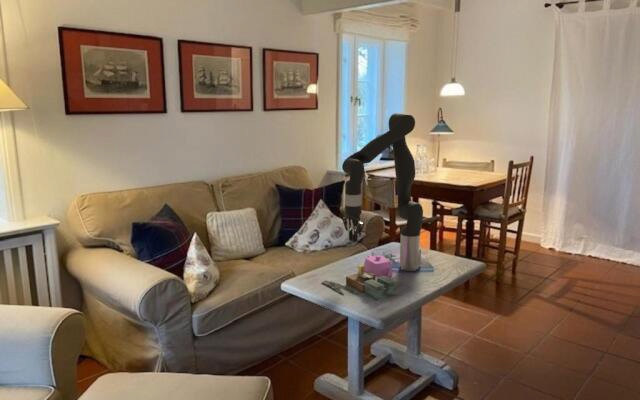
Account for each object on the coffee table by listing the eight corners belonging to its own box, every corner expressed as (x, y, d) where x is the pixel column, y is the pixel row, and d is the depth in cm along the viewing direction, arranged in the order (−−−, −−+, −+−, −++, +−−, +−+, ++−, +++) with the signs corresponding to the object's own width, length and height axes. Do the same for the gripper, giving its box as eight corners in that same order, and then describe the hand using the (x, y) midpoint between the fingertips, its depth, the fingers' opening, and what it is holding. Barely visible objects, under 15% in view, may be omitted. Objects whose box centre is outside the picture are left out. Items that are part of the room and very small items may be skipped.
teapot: (398, 281, 223) (398, 260, 220) (378, 285, 218) (378, 264, 216) (378, 269, 239) (378, 249, 236) (359, 272, 234) (359, 252, 232)
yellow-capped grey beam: (362, 274, 220) (362, 264, 219) (373, 280, 213) (373, 269, 212) (357, 275, 219) (357, 265, 217) (369, 281, 212) (369, 270, 211)
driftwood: (319, 283, 223) (319, 279, 222) (331, 280, 227) (331, 276, 226) (346, 299, 206) (346, 295, 206) (359, 296, 210) (359, 291, 209)
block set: (365, 279, 226) (365, 267, 224) (396, 294, 209) (396, 281, 207) (346, 284, 220) (346, 272, 218) (376, 300, 203) (376, 287, 201)
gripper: (369, 205, 213) (369, 243, 216) (350, 199, 224) (350, 236, 228) (356, 207, 209) (356, 246, 212) (337, 202, 220) (337, 239, 224)
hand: (353, 241), depth 220 cm, fingers closed
